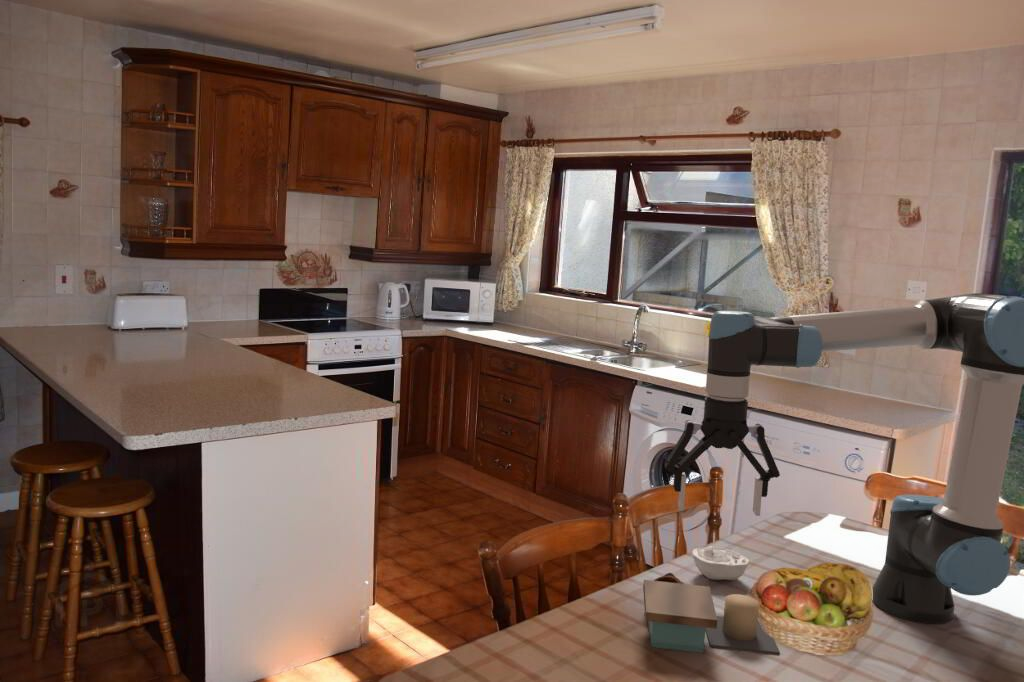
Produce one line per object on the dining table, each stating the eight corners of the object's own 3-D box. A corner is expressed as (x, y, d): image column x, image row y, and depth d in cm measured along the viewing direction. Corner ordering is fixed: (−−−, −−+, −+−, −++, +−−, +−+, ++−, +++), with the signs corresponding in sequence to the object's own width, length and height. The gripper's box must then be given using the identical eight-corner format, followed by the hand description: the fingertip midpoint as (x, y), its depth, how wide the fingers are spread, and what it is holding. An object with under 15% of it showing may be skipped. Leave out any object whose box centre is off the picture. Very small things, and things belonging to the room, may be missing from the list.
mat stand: (765, 623, 154) (769, 591, 153) (779, 654, 142) (783, 619, 141) (701, 616, 155) (704, 584, 154) (710, 646, 143) (713, 612, 143)
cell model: (746, 592, 168) (749, 561, 167) (687, 581, 172) (690, 550, 171) (748, 574, 177) (751, 544, 177) (692, 564, 181) (695, 535, 180)
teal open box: (697, 628, 150) (699, 600, 149) (703, 652, 141) (706, 622, 140) (647, 623, 151) (650, 595, 150) (650, 646, 142) (653, 617, 141)
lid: (708, 594, 150) (709, 586, 150) (716, 628, 139) (717, 620, 138) (643, 587, 152) (643, 579, 151) (645, 620, 140) (646, 612, 140)
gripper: (792, 396, 149) (783, 508, 151) (654, 389, 151) (648, 500, 153) (803, 404, 141) (793, 522, 144) (658, 397, 143) (651, 513, 146)
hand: (718, 511), depth 149 cm, fingers open, 13 cm apart
